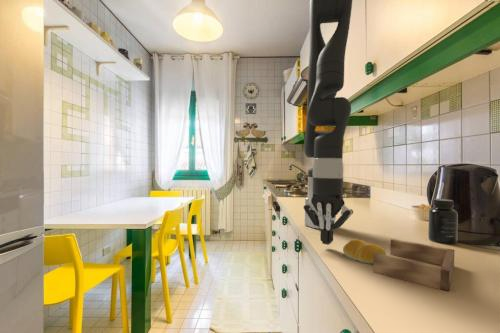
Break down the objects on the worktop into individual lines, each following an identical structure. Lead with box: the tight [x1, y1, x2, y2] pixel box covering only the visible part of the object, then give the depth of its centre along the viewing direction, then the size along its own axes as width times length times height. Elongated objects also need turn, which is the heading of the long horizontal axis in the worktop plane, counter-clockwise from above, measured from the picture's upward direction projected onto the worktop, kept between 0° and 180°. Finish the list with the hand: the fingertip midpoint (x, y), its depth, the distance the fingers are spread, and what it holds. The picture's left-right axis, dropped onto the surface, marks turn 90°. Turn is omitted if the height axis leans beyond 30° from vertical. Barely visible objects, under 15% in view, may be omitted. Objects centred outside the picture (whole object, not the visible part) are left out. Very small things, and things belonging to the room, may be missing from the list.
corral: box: [372, 238, 455, 292], centre depth 55 cm, size 12×15×4 cm
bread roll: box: [342, 238, 387, 265], centre depth 61 cm, size 8×9×4 cm
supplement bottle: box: [427, 198, 459, 245], centre depth 76 cm, size 7×7×12 cm
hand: (326, 243), depth 67 cm, fingers closed
